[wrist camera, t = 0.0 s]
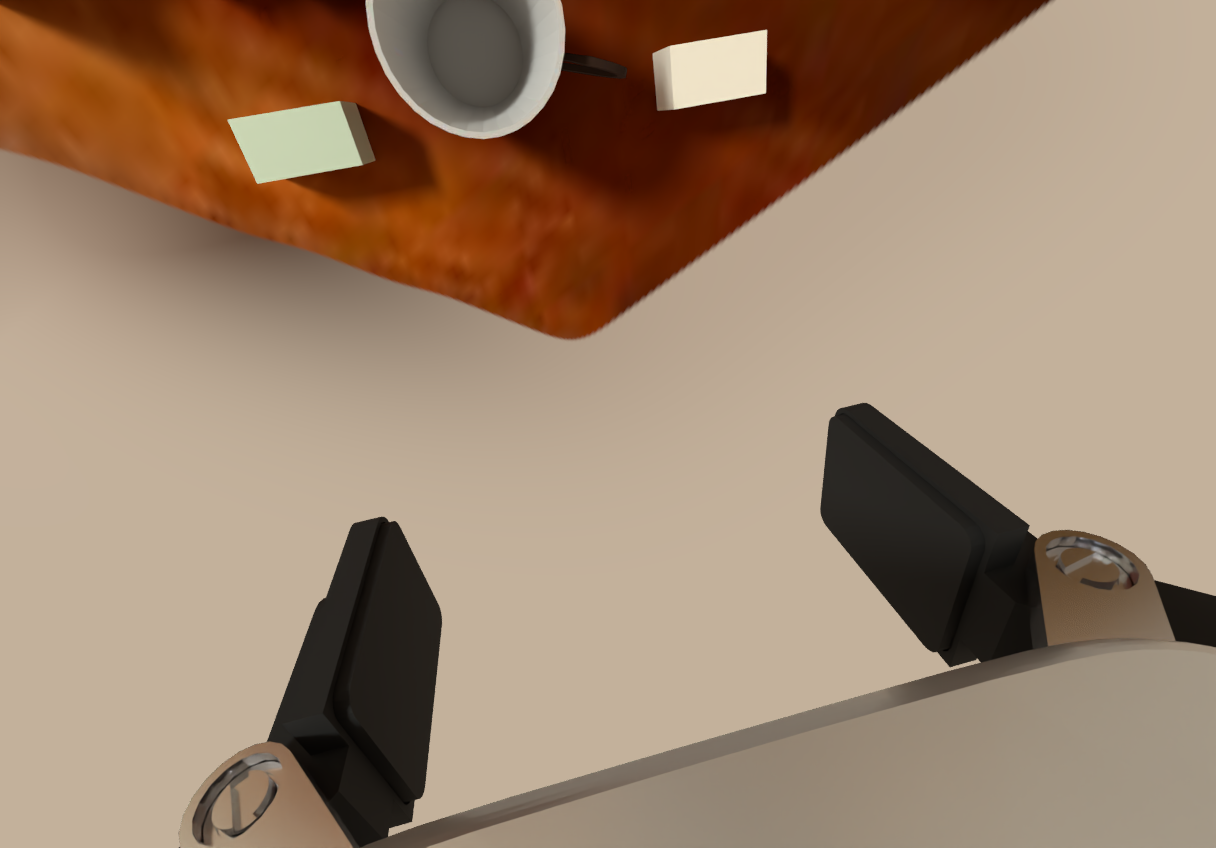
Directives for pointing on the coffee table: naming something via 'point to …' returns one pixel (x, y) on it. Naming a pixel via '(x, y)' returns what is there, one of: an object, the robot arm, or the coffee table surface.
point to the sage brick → (303, 141)
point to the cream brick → (710, 70)
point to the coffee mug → (476, 59)
